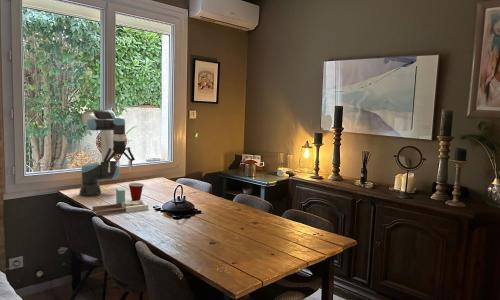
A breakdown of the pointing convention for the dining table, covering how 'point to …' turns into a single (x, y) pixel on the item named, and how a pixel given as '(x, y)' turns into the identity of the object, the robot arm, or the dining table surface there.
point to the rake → (120, 195)
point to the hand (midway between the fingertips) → (119, 171)
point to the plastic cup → (135, 191)
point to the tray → (141, 206)
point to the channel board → (111, 211)
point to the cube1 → (128, 204)
